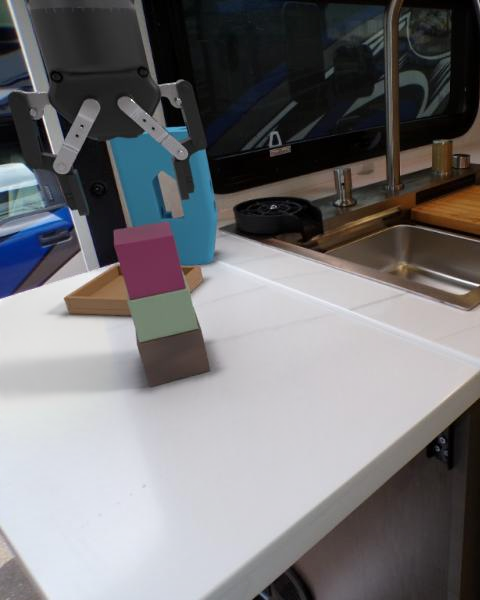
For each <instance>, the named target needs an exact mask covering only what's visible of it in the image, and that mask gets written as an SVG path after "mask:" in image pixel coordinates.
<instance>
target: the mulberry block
mask: <svg viewBox="0 0 480 600" xmlns="http://www.w3.org/2000/svg"><path fill="white" fill-rule="evenodd" d="M113 245H114V249H115V253H116V257H117V260H118V264H119V265H120V267H121V271H122V274H123V277H124V281H125V284H126V288H127V291H128V294H129V298H130V300H133V299H138V298H143V297H147V296H152V295H157V294H162V293H167V292H172V291H176V290H181V289H186V286H185V282H184V278H183V273H182V269H181V265H180V261H179V257H178V252H177V248H176V244H175V240H174V236H173V233H172V230H171V227H170V225H169V222H168V221H167V222H161V223H154V224H148V225H142V226H135V227H132V226H131V227H124V228H116V229H113Z"/></svg>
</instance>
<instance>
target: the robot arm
mask: <svg viewBox="0 0 480 600" xmlns="http://www.w3.org/2000/svg"><path fill="white" fill-rule="evenodd" d="M23 2H24V4H25V5H26V7H27V11H28V14H29V17H30V20H31V25H32V27H33V30H34V34H35V36H36V40H37V44H38V46H39V50H40V53H41V56H42V59H43V63H44V65H45V69H46V73H47V76H48V79H49V87H48V90H47V91H25V90H22V89H16V90H15V89H14V90H13V91H10V93H9V94H8V95H7V101H8V105H9V109H10V113H11V116H12V119H13V123H14V127H15V130H16V134H17V138H18V141H19V145H20V149H21V152H22V155H23V156H22V157H23V159H24V162H25V166H27V167H28V168H29V169H31V170H43V171H46V172H47V171H48V172H51V173H53V174H54V175H55V176H56V177H57V179H58V182H59V185H60V188H61V190H62V194H63V197H64V200H65V203H66V206H67V207H68V209H70V211H77V212H78V215H79V217H83V216H89V215H90V208H89V205H88V200H87V198H86V194H85V192H84V189H83V185H82V181H81V179H80V175H79V172H78V169H77V168H76V169H74V168H75V167H74V165H73V164H74V162H75V160H76V159H77V156H78V154H79V152H80V151H81V149H82V146H83V145H84V143H85V141H86V139H87V138H89V139H91V140H94V141H97V142H107V141H108V142H109V140H111V139H114V138H116V137H121V138H138V136H140V135H142V134H143V133H144V132H145V131H146V132H147V133H148V134H150V135H151V136H152V137H153V138H154V139H155V140H156V141H157V142H159V143H160V144H161V145H162V146H163V147H164V148H166V149H167V150H168V151H169V152H170V153H171V154H172V155H173V158H171V160H172V165H173V169H174V174H175V178H176V180H175V182H176V186H177V192H178V196H179V199H180V198H181V199H180V201H181V200H182V201H183V200H189V194H188V193H194V188H195V186H194V182H193V177H192V172H191V167H190V163H189V159H190V156H191V155H192V154H194V153H196V152H198V151H200V150H204V149H205V150H206V148H207V146H208V143H207V138H206V135H205V131H204V127H203V123H202V118H201V116H200V111H199V107H198V104H197V100H196V95H195V91H194V88H193V85H192V83H190V82H189V81H188V80H184V79H177V80H176V82H169V83H161V84H157V83H156V81H155V79H154V78H153V76H152V74H151V70H150V67H149V62H148V58H147V52H146V49H145V44H144V40H143V36H142V31H141V26H140V22H139V18H138V14H137V9H136V6H135V5H136V4H135V0H23ZM162 97H164V98H167V99H168V100H169V102H170V104H171V105H172V106H173V107H174V108H176V109H180V110H181V114H182V118H183V121H184V125H185V127H186V129H187V133H188V138H186V139H184V140H182V141H180V142H179V141H178V140H177V139H176V138H175V137H173V136H172V135H171V134H170V133H169V132H168V131H167V130H166V129H165V128H166V127H164V126H163V125H162V124H161V123H160V122H159V121H158V120H157V119H155V118H154V117H153V116H154V114H155V112H156V110H157V108H158V106H159V104H160V102H161V100H162ZM48 105H50V106H51V107H52V108H53V109H54V110H55V111H56V112H57V113H59V115H61V116H62V117H63V118H65V119H66V120H67V121H68V122H69V123H70V124H72V125H71V127H70V129H69V131H68V133H67V134H66V137H65V138H64V141H63V142H62V144H61V147H60V149H59V150H58V152H57V154H54V153H49V152H46V151H45V150H44V146H43V142H42V139H41V135H40V131H39V126H38V123H37V121H39V120H40V119H42V118H43V116H44V115H45V107H46V106H48Z"/></svg>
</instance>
